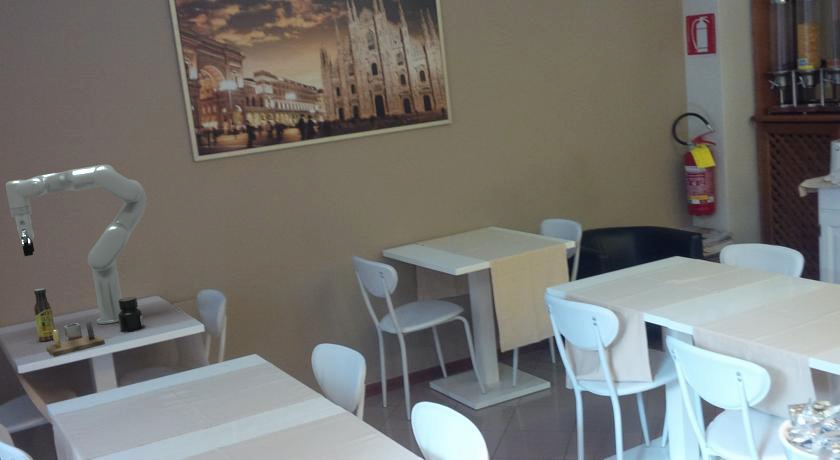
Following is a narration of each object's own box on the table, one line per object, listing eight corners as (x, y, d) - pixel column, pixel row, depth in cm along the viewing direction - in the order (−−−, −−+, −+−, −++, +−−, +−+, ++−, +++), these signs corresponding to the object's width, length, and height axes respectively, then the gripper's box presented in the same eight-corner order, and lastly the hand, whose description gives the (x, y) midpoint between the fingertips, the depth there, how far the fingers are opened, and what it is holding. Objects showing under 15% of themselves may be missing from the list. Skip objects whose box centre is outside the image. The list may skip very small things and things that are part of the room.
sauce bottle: (45, 342, 347) (36, 291, 343) (35, 341, 350) (26, 291, 347) (60, 337, 352) (51, 287, 349) (50, 336, 355) (41, 287, 352)
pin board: (96, 338, 344) (92, 317, 342) (104, 343, 334) (101, 322, 332) (46, 350, 334) (42, 329, 333) (53, 356, 324) (49, 334, 323)
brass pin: (61, 350, 332) (57, 329, 331) (62, 351, 330) (58, 329, 329) (55, 351, 331) (51, 330, 330) (56, 352, 329) (52, 331, 328)
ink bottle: (149, 327, 352) (144, 297, 350) (128, 333, 345) (123, 302, 343) (136, 324, 358) (131, 295, 356) (116, 330, 352) (110, 300, 350)
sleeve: (79, 337, 347) (76, 322, 346) (82, 340, 343) (80, 324, 342) (66, 341, 345) (63, 325, 344) (69, 343, 341) (66, 328, 340)
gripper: (30, 211, 350) (38, 255, 353) (32, 208, 366) (40, 249, 369) (9, 215, 348) (17, 258, 351) (12, 211, 364) (20, 252, 367)
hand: (29, 253), depth 360 cm, fingers open, 9 cm apart
